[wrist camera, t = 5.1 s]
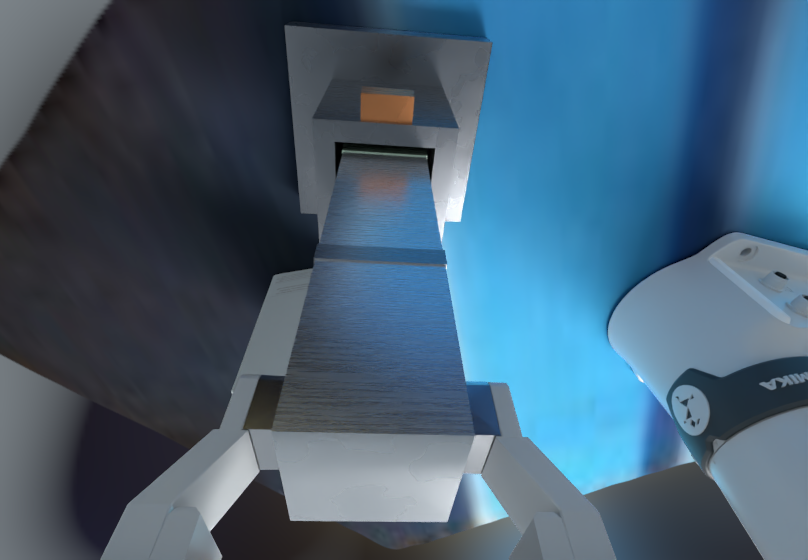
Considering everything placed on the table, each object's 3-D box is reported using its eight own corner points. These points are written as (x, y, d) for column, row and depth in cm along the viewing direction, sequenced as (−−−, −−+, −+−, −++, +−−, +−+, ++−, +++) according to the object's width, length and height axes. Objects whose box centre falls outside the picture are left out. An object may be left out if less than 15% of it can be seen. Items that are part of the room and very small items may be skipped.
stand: (486, 37, 26) (528, 71, 18) (456, 209, 33) (477, 287, 25) (291, 21, 25) (244, 49, 17) (305, 200, 32) (277, 278, 24)
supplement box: (271, 272, 37) (226, 390, 27) (352, 260, 36) (338, 375, 26) (298, 331, 41) (268, 450, 31) (371, 321, 40) (364, 439, 30)
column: (423, 133, 22) (477, 434, 8) (416, 201, 25) (448, 522, 11) (347, 128, 22) (268, 429, 8) (348, 197, 25) (288, 521, 10)
